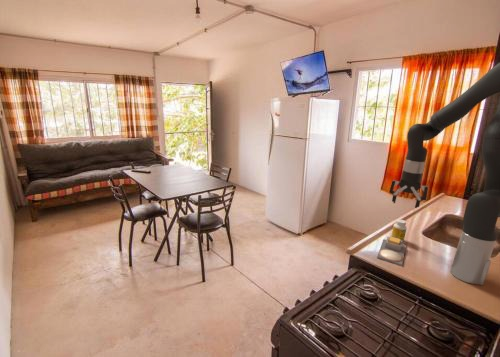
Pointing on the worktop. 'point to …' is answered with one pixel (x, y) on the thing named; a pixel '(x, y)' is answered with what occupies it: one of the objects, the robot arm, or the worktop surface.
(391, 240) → the button
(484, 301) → the worktop surface
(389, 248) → the grey rectangular board
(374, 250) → the worktop surface
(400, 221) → the supplement bottle
